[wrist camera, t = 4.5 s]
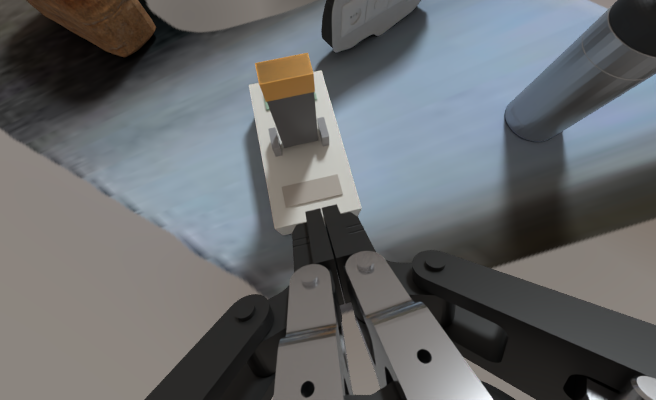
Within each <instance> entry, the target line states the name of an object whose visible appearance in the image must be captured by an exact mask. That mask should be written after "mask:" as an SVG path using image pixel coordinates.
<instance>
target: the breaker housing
mask: <svg viewBox="0 0 656 400" xmlns="http://www.w3.org/2000/svg"><path fill="white" fill-rule="evenodd" d="M313 74H314V85H315V92H314V98H315V109H316V120H317V131H318V141H315V142H310V143H305V144H301V145H296V146H292V147H287V148H284V147H283V144H282V141H281V139H280V136H279V133H278V131H277V128H276V125H275V122H274V120H273V117H272V114H271V112H270V109H269V106H268V103H267V102H266V101H265V99H264V96H263V93H262V91H261V88H260V85H259V83H256V84H251V85H249V89H250V94H251V100H252V105H253V111H254V116H255V122H256V128H257V133H258V139H259V144H260V150H261V155H262V161H263V167H264V172H265V178H266V183H267V189H268V194H269V200H270V205H271V211H272V217H273V222H274V228H275V230H277V231H278V232H279V233H280V234H282V235H283V236H284V235H288V234H292V232H293V230H294V228H295V226H296V225H298V224H302V223H306V222H307V220H306V214H305V212H306V211H310V210H315V209H319V208H320V209H321V213H322V216H323V212H322V208H323V207H327V206H331V205H335V204H337V206H338V209H339V211H340V213H341V214H343V213H347V212H351V213H353V214H354V215H356V216H358V215H359V213H360V211H361V209H362V207H361V204H360V201H359V197H358V194H357V190H356V187H355V183H354V180H353V177H352V173H351V170H350V166H349V163H348V159H347V156H346V152H345V149H344V146H343V142H342V139H341V135H340V132H339V128H338V125H337V122H336V118H335V115H334V111H333V108H332V104H331V101H330V98H329V94H328V91H327V87H326V84H325V80H324V77H323V73H322V70H320V71H315V72H313ZM323 220H324V217H323ZM324 224H325V221H324Z"/></svg>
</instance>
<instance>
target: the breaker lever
mask: <svg viewBox="0 0 656 400" xmlns="http://www.w3.org/2000/svg"><path fill="white" fill-rule="evenodd" d="M255 65H256V70H257V76H258V81H259V85H260V88H261V91H262V93H263V96H264V99H265V101H266V102H267V103H268V106H269V109H270V112H271V114H272V117H273V120H274V122H275V125H276V128H277V131H278V133H279V136H280V139H281V141H282V144H283V147H284V148H287V147H292V146H296V145H301V144H305V143H310V142H315V141H318V131H317V120H316V109H315V98H314V92H315V85H314V74H313V70H312V66H311V63H310V59H309V56H308V53H304V54H299V55H294V56H289V57H284V58H279V59H274V60H269V61H264V62H259V63H255Z"/></svg>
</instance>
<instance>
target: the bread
mask: <svg viewBox="0 0 656 400" xmlns="http://www.w3.org/2000/svg"><path fill="white" fill-rule="evenodd" d="M27 1H28V2H29V3H30V4H31V5H32V6H33V7H34V8H36V9H37V10H38V11H39V12H40V13H42V14H43V15H44V16H45V17H47V18H49V19H51V20H53V21H55V22H57V23H58V24H60V25H62V26H63V27H65V28H67V29H68V30H70V31H71V32H73V33H75V34H77V35H79V36H80V37H82V38H84V39H86V40H88V41H90V42H91V43H93V44H95V45H97V46H98V47H100V48H102V49H103V50H105V51H107V52H109V53H112V54H114V55H118V56H121V57H127V56H129V55H131V54H133V53H135V52H136V51H137V50H139V49H140V48H141V47H142V46H143V45H144V44H145V43H146V42H147V41H148V40H149V39H150V38H151V36H152V35H153V33H154V31H155V28H156V26H155V25H154V23H153V21H152V19H151V18H150V17H149V15H148V14H147V13H146V11H145V10H144V8H143V7H142V5H141V4H140V3H139V1H138V0H27Z"/></svg>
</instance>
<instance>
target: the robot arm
mask: <svg viewBox="0 0 656 400" xmlns="http://www.w3.org/2000/svg"><path fill="white" fill-rule="evenodd" d="M654 74H656V0H617V2H615V3H614V5H612V6H611V7H610V8H609V9H608V10H607V11H606V12H605V13H604V14H603V15H602V16H601V17H600V18H599V19H598V20H597V21H596V22H595V23H593V24H592V25H591V26H590V27H589V28H588V29H587V30H586V31H585V32H584V33H583V34H582V35H581V36H580V37H579V38H578V39H577V40H576V41H575V42H574V43H573V44H572V45H571V46H569V47H568V48H567V49H566V50H565V51H564V52H563V53H562V54H561V55H560V56H559V57H558V58H557V59H556V60H555V61H554V62H553V63H552V64H551V65H549V66H548V67H547V68H546V69H545V70H544V71H543V72H542V73H541V74H540V75H539V76H538V77H537V78H536V79H535V80H534V81H533V82H532V83H531V84H529V85H528V86H527V87H526V88H525V89H524V90H523V91H522V92H521V93H520V94H519V95H518V96H517V97H516V98H515V99H514V100H513V101H512V102H510V104H509V105H508V106H507V108H506V112H505V117H506V121H507V124H508V125H509V127H510V128H511V130H512V131H513V132H514V133H516V134H517V135H518V136H520V137H522V138H524V139H526V140H529V141H535V142H542V141H546V140H548V139H550V138H552V137H554V136H555V135H557V134H559V133H560V132H562V131H564V130H565V129H567V128H568V127H570V126H572V125H573V124H575V123H577V122H578V121H580V120H582V119H583V118H585V117H586V116H588V115H590V114H591V113H593V112H595V111H596V110H598V109H599V108H601V107H603V106H604V105H606V104H607V103H609V102H611V101H612V100H614V99H616V98H617V97H619V96H620V95H622V94H624V93H625V92H627V91H629V90H630V89H632V88H633V87H635V86H637V85H638V84H640V83H641V82H643V81H645V80H646V79H648V78H650V77H651V76H653V75H654ZM322 212H323V216H322V213H321V209H320V208H319V209H315V210H310V211H306V212H305V214H306V220H307V222H306V223H302V224H298V225H296V226H295V228H294V230H293V232H292V238H293V255H294V274H293V275H292V277H291V279H290V285H289V286H288V287H287V288H286V289H285V290H284V291H282V292H281V293H279V294H278V295H276V296H274V297H272V298H270V299H268V300H267V299H266V298H265V297H264V296H262V295H257V294H255V295H249V296H246V297H243V298H241V299H240V300H238V301H237V302H236V303H234V304H233V305H232V306H231V307H230V308H229V309H228V310H227V312H226V313H225V314H224V315H223V316H222V317H221V318H220V319H219V320H218V321H217V322H216V323H215V324H214V326H213V327H212V328H211V329H210V330H209V331H208V332H207V333H206V334H205V335H204V336H203V337H202V338H201V339H200V341H199V342H198V343H197V344H196V345H195V346H194V347H193V348H192V349H191V350H190V351H189V352H188V354H187V355H186V356H185V357H184V358H183V359H182V360H181V361H180V362H179V363H178V364H177V365H176V366H175V368H174V369H173V370H172V371H171V372H170V373H169V374H168V375H167V376H166V377H165V378H164V379H163V380H162V381H161V383H160V384H159V385H158V386H157V387H156V388H155V389H154V390H153V391H152V392H151V393H150V394H149V395H148V396H147V398H146V399H145V400H271V399H272V397H273V395H274V398H273V400H515V399H514V398H512V397H511V396H509V395H507V394H506V393H504V392H503V391H501V390H499V389H497V388H496V387H493V386H492V385H489V384H488V383H485V382H483V381H480V380H479V379H478V378H477V376H476V375H475V373H474V372H473V371H472V369H471V368H470V366H469V365H468V364H467V362H466V361H465V359H464V358H466V359H468V360H469V361H471V362H473V363H475V364H477V365H478V366H480V367H481V368H483V369H485V370H487V371H488V372H490V373H492V374H494V375H495V376H497V377H499V378H500V379H503V380H504V381H505V382H507V383H509V384H511V385H512V386H514V387H516V388H517V389H519V390H521V391H522V392H524V393H526V394H528V395H530V396H531V397H533V398H534V399H536V400H656V325H653V324H651V323H648V322H645V321H642V320H639V319H636V318H633V317H630V316H627V315H624V314H621V313H618V312H616V311H613V310H610V309H607V308H604V307H601V306H598V305H595V304H592V303H590V302H586V301H584V300H581V299H578V298H575V297H572V296H569V295H566V294H563V293H560V292H558V291H555V290H552V289H549V288H546V287H543V286H540V285H537V284H534V283H531V282H528V281H525V280H523V279H520V278H517V277H514V276H511V275H508V274H505V273H502V272H499V271H496V270H494V269H491V268H488V267H485V266H482V265H479V264H476V263H473V262H470V261H467V260H465V259H462V258H459V257H456V256H453V255H450V254H447V253H444V252H441V251H435V250H428V251H423V252H421V253H419V254H417V255H416V256H415V257H414V259H413V261H412V263H396V262H390V261H387V260H385V259H384V258H383V256H381V255H380V254H378V253H376V251H375V249H374V247H373V245H372V244H371V242H370V240H369V238H368V236H367V234H366V232H365V230H364V228H363V226H362V225H361V222H360V220H359V218H358V216H356V215H354V214H353V213H351V212H347V213H343V214H341V213H340V211H339V209H338V206H337V204H335V205H331V206H327V207H323V208H322ZM323 217H324V220H323ZM324 221H325V224H324ZM325 226H326V227H325ZM326 230H327V231H326ZM336 269H337V270H336ZM337 273H338V274H337ZM338 277H339V279H338ZM339 280H340V283H339ZM340 284H341V288H342V291H343V295H344V299H345V303H349V302H351V303H352V306H353V310H354V314H355V319H356V323H357V325H358V328H359V330H360V333H361V336H362V338H363V341H364V344H365V346H366V349H367V351H368V354H369V357H370V359H371V362H372V365H373V367H374V370H375V373H376V376H377V379H378V382H379V386H380V390H379V391H377V392H376V393H374V394H372V395H353V391H352V386H351V380H350V374H349V368H348V361H347V354H346V347H345V340H344V334H343V327H342V323H341V322H342V314H341V310H340V306H339V305H342V304H344V301H343V297H342V292H341V288H340ZM463 357H464V358H463Z"/></svg>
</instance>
